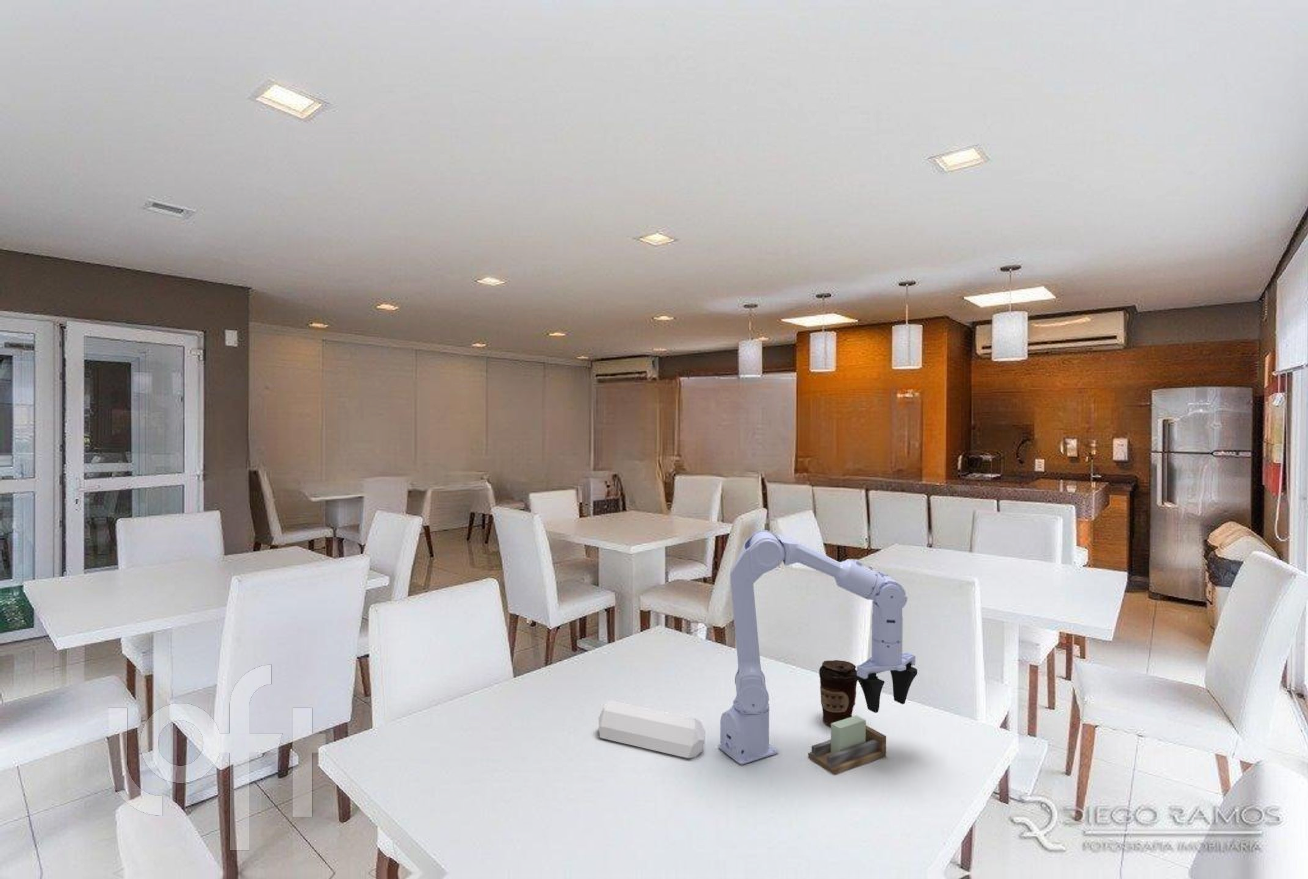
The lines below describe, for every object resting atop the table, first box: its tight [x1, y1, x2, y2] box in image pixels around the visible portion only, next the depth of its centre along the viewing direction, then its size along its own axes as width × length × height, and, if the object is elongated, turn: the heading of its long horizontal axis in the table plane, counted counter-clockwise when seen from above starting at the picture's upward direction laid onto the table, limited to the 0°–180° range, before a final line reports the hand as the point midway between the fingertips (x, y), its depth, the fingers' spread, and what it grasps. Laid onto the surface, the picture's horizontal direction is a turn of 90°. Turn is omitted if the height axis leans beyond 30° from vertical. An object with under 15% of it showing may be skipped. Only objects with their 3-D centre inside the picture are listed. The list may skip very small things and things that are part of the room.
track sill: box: [807, 725, 887, 776], centre depth 128 cm, size 14×7×4 cm, turn 119°
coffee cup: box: [818, 659, 859, 727], centre depth 142 cm, size 9×8×13 cm
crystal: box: [598, 699, 706, 759], centre depth 133 cm, size 7×7×24 cm
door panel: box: [830, 715, 867, 754], centre depth 128 cm, size 7×2×6 cm, turn 119°
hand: (886, 706), depth 128 cm, fingers open, 7 cm apart
